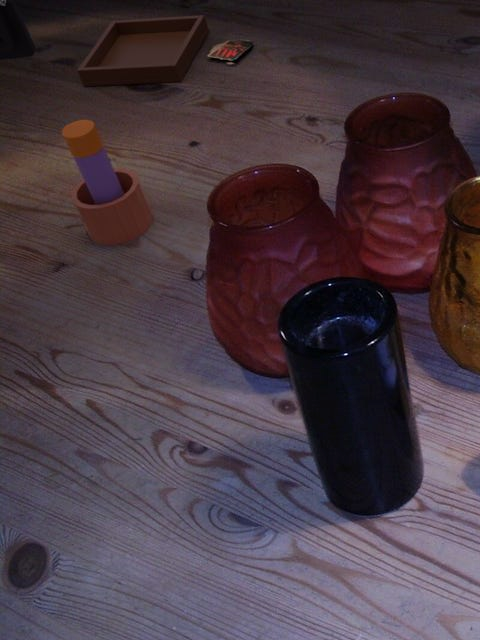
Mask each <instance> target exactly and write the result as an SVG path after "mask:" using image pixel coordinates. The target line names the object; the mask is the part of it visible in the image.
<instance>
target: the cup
mask: <svg viewBox="0 0 480 640" xmlns="http://www.w3.org/2000/svg"><path fill="white" fill-rule="evenodd" d="M113 169H114V171H115V174H116V176H117V178H118V181H119V183H120V185H121V187H122V190H123V192H124V195H123V196H122V197H120V198H118V199H116V200H114V201H112V202H109V203H105V204H101V205H96V204H95V202H94V200H93V198H92V196H91V194H90V192H89V189H88V187H87V185H86V183H85V181H84V179H83V178H82V180H81V181H80V182H79V183H77V184H76V185H75V186H74V187H73V190H72V191H71V202H72V204H73V206H74V208H75V210H76V212H77V214H78V216H79V219H80V221H81V223H82V224H83V227H84V229H85V231H86V233H87V235H88V237H90V239H91V241H93V242H94V243H96V244H98V245H102V246H116V245H122V244H125V243H129V242H131V241H134V240H135V239H138V238H139V237H140V236H142V235H144V234H145V233H146V232H147V231H148V230H149V229H150V228H151V226H152V225H153V222H154V219H155V218H154V212H153V209H152V206H151V205H150V202H149V200H148V198H147V197H148V196H147V195H146V192H145V190H144V188H143V185H142V183H141V180H140V178H139V176H138V175H137V174H136V173H135V172H134V171H133V170H130V169H126V168H123V167H121V168H113Z"/></svg>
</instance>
